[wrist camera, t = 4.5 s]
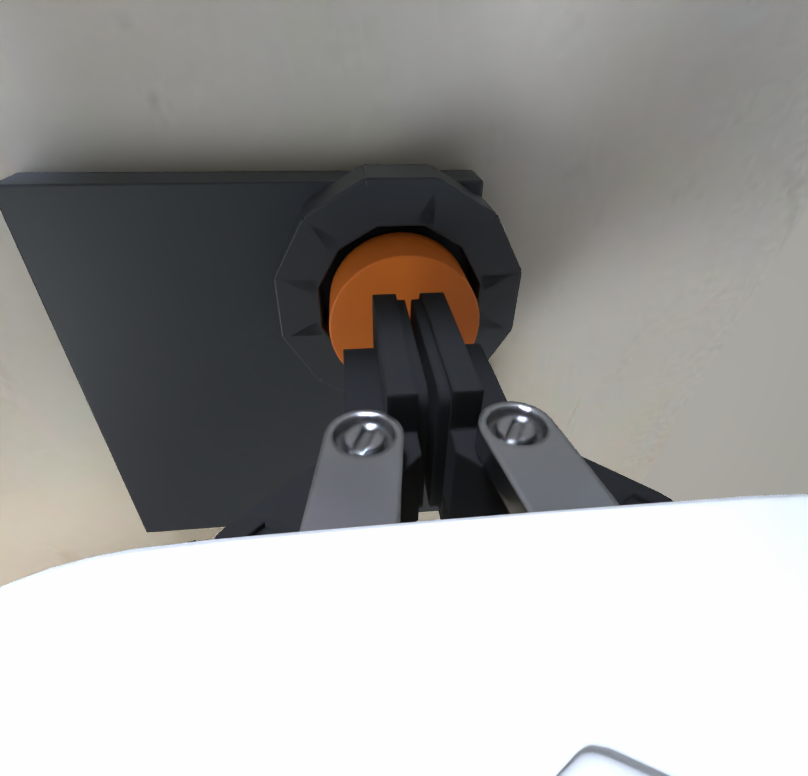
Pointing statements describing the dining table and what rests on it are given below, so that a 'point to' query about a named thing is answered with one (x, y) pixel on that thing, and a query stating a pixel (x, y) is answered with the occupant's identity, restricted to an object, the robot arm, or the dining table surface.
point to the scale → (228, 310)
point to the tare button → (396, 286)
